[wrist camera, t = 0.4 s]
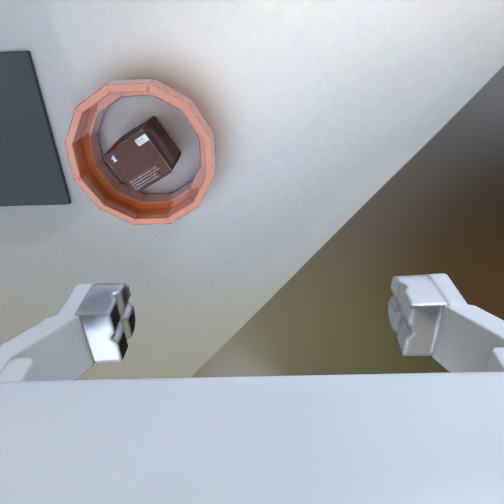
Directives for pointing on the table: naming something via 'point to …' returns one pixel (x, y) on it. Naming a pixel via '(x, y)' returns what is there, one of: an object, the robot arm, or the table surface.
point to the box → (144, 155)
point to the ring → (104, 180)
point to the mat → (26, 139)
